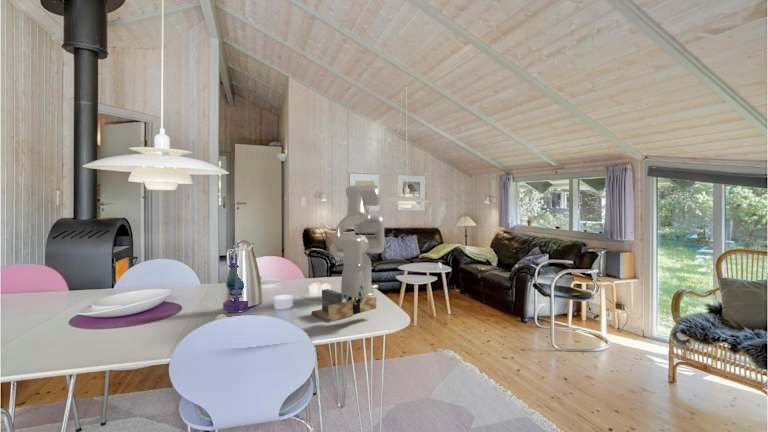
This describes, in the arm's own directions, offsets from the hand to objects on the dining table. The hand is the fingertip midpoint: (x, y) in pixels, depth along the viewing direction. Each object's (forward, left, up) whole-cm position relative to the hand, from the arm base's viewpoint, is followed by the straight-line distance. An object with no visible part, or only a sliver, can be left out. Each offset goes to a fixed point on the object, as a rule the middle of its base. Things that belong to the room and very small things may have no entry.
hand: (353, 311), depth 155 cm
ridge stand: (0, -15, -5) cm, 16 cm away
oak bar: (0, 0, -1) cm, 1 cm away
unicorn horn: (+39, -25, -5) cm, 47 cm away
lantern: (+27, -52, -5) cm, 59 cm away
